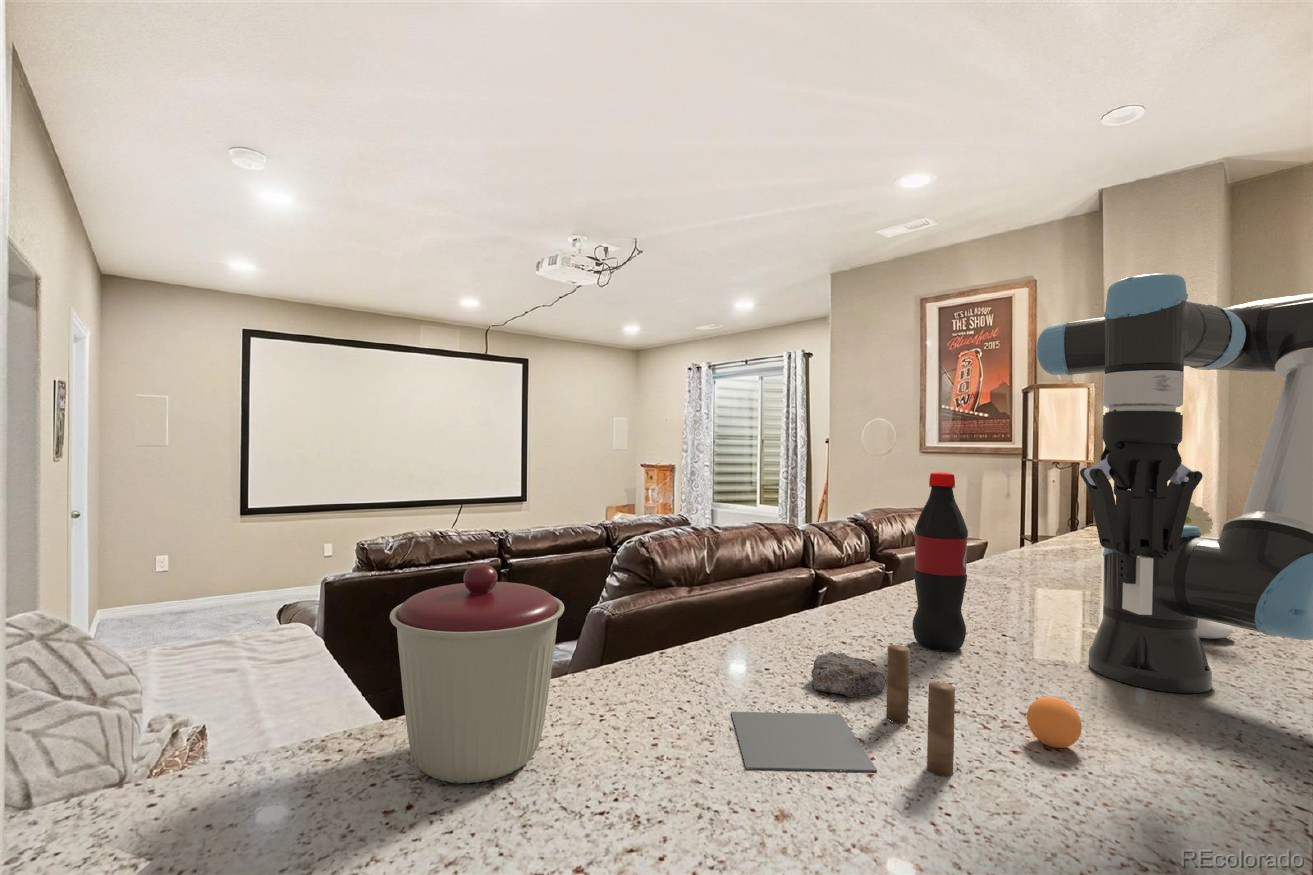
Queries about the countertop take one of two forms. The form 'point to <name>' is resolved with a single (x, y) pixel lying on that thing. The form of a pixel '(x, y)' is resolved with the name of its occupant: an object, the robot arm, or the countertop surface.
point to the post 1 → (898, 683)
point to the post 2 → (940, 728)
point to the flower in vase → (1204, 524)
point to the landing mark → (799, 742)
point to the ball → (1054, 722)
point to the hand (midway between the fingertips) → (1136, 611)
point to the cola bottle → (940, 568)
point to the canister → (476, 674)
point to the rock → (846, 675)
